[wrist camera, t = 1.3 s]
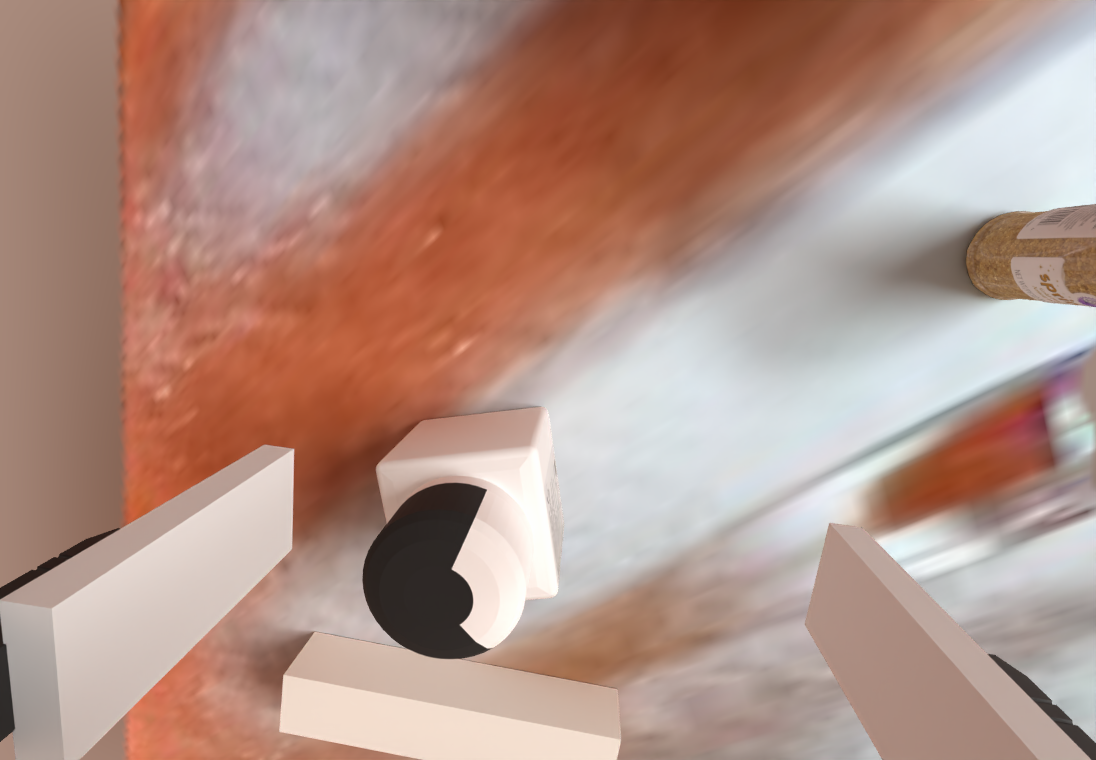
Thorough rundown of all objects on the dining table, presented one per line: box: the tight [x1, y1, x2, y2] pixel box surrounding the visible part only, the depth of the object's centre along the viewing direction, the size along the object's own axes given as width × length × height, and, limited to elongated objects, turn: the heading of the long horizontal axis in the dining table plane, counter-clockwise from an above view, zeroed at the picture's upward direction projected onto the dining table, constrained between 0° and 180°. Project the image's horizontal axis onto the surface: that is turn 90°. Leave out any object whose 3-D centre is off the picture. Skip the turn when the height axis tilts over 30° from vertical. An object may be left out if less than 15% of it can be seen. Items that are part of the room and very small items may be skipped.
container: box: [363, 407, 564, 659], centre depth 28 cm, size 8×8×13 cm
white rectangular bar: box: [279, 632, 621, 760], centre depth 36 cm, size 4×20×4 cm, turn 81°
